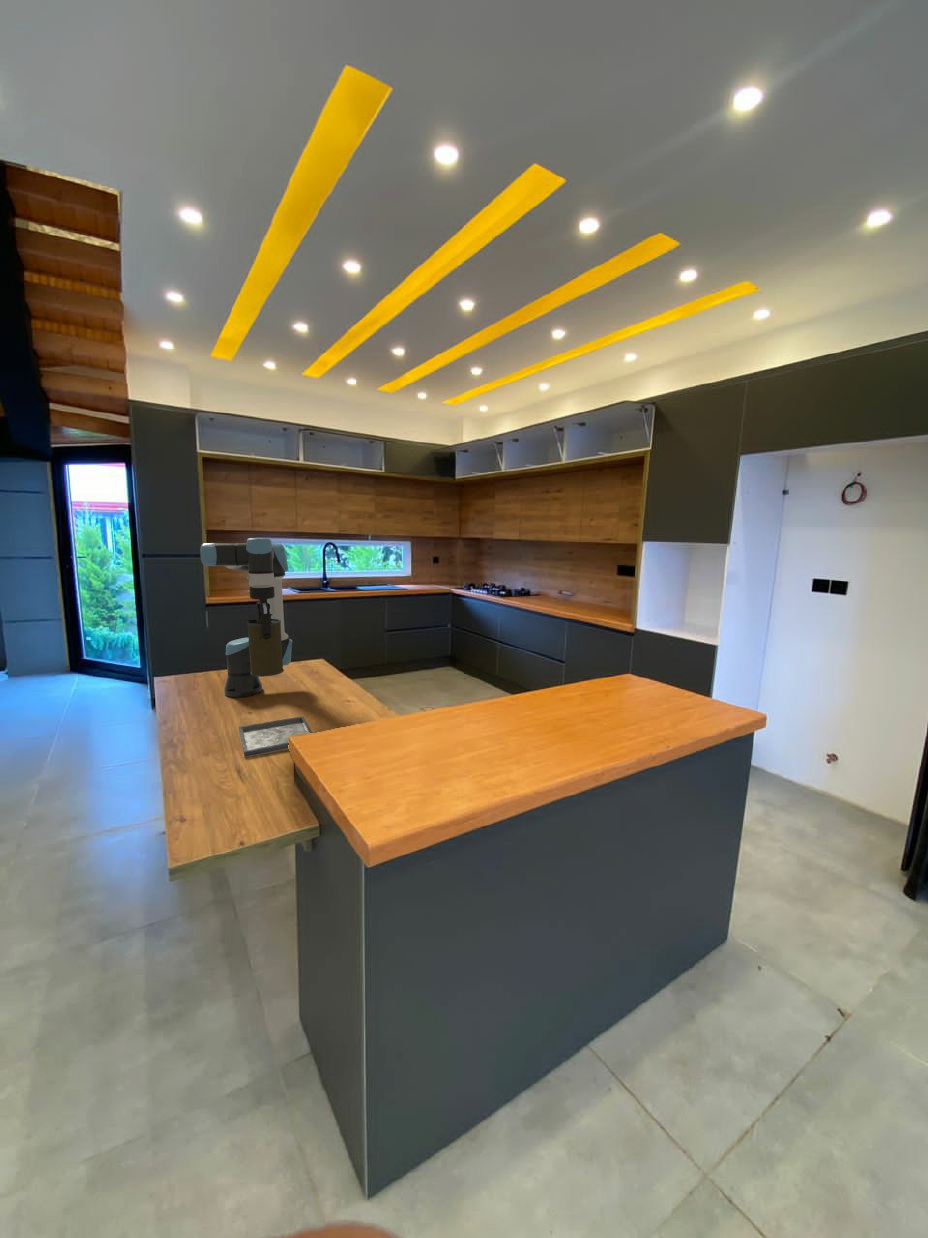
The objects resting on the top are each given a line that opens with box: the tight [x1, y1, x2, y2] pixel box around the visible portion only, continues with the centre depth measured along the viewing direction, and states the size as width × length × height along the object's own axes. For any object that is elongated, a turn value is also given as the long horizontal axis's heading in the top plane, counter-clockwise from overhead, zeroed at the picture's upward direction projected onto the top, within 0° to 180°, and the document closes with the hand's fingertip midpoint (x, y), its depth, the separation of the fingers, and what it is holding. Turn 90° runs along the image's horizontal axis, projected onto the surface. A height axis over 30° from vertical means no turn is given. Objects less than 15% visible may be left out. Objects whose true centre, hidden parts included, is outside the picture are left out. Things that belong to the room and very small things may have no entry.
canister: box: [246, 613, 285, 678], centre depth 160 cm, size 11×10×20 cm
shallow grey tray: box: [238, 715, 314, 758], centre depth 166 cm, size 22×22×2 cm
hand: (265, 655), depth 161 cm, fingers open, 6 cm apart
